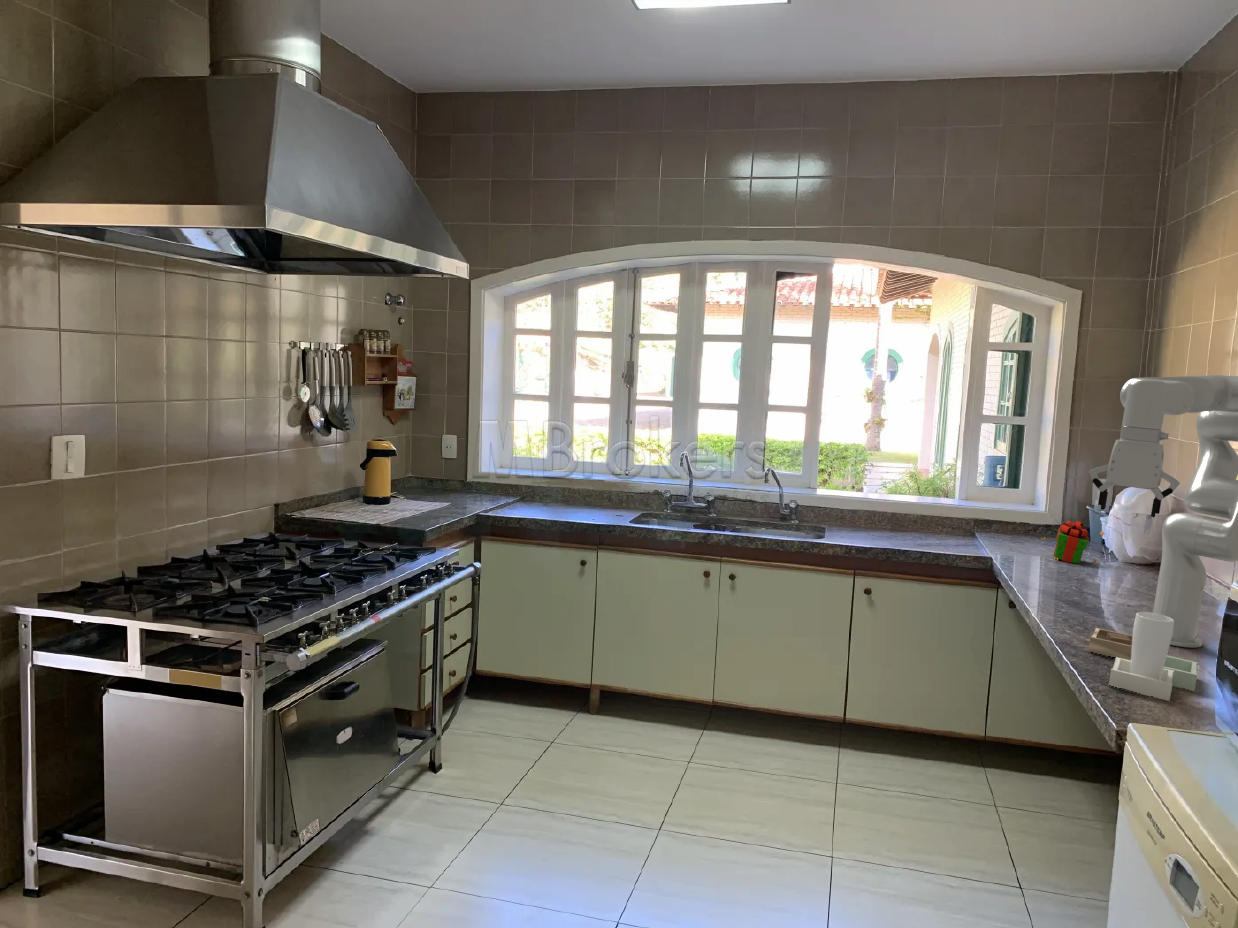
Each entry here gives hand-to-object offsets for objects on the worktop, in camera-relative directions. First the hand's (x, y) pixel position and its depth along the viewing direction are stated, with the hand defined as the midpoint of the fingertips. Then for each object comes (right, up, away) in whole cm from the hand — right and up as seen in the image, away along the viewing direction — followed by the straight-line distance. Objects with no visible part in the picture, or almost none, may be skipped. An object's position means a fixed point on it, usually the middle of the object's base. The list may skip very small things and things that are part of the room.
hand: (1127, 512), depth 190 cm
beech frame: (+2, -33, +8) cm, 34 cm away
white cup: (-5, -35, -13) cm, 38 cm away
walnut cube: (+2, -33, +8) cm, 34 cm away
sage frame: (+4, -35, -6) cm, 36 cm away
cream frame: (-5, -35, -13) cm, 38 cm away
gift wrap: (+45, -23, +110) cm, 121 cm away
